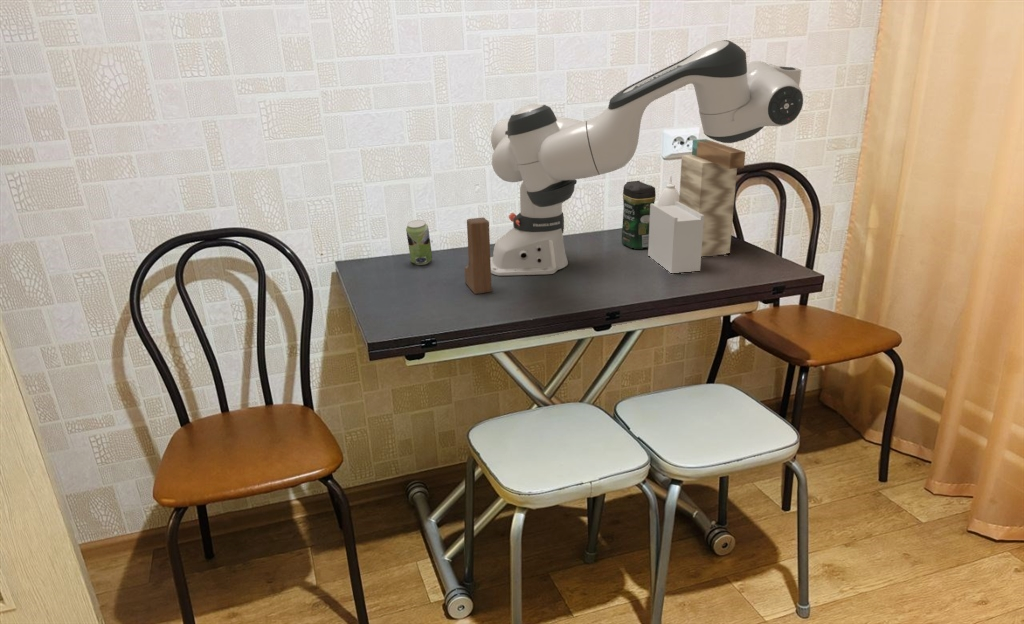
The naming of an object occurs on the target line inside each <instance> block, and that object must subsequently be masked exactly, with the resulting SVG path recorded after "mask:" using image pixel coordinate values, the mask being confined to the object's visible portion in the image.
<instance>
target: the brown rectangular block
mask: <svg viewBox="0 0 1024 624" xmlns="http://www.w3.org/2000/svg"><path fill="white" fill-rule="evenodd" d="M691 149H692V150H691V155H695V156H697V157H700V158H702V159H705V160H708V161H710V162H713V163H715V164H718V165H721V166H723V167H726V168H728V169H735V168H737V169H744V168H745V162H746V151H743V150H741V149H737V148H735V147H732V146H728V145H725V144H724V143H721V142H718V141H714V140H711V139H707V138H703V139H701V138H700V139H692V148H691Z"/></svg>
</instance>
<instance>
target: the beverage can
mask: <svg viewBox="0 0 1024 624" xmlns="http://www.w3.org/2000/svg"><path fill="white" fill-rule="evenodd" d="M405 231H406V239H407V243H408V250H409V251H408V252H409V258H410V261H411V263H413V264H414V265H417V266H425V265H426V264H429V263H430V262H432V260H433V253H432V244H431V236H430V230H429V225H428V224H427V223H426V221H425V220H422V219H414V220H411V221H410V222H408V223H407V226H406V228H405Z"/></svg>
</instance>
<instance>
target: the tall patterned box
mask: <svg viewBox="0 0 1024 624" xmlns="http://www.w3.org/2000/svg"><path fill="white" fill-rule="evenodd" d="M680 162H681V164H680V177H679V178H680V182H679V202H680V203H682V204H684V205H685V206H687V207H689V208H691V209H693V210H695V211H697V212H699V213H700V214H702V215H704V224H703V238H702V252H701V256H708V255H716V254H726V253H730V254H731V242H732V230H733V229H732V228H733V220H734V219H733V218H734V217H733V216H734V207H735V206H734V205H735V198H736V197H735V196H736V184H737V172H738V168H735V169H728V168H726V167H723V166H721V165H718V164H715V163H713V162H710V161H708V160H705V159H702V158H700V157H697V156H695V155H692V154H682V155H681V161H680Z"/></svg>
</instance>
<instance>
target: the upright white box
mask: <svg viewBox="0 0 1024 624" xmlns="http://www.w3.org/2000/svg"><path fill="white" fill-rule="evenodd" d="M703 224H704V215H702V214H700V213H699V212H697V211H695V210H693V209H691V208H689V207H687V206H685V205H684V204H682V203H680V202H675V205H673V206H660V207H658V206H657V204H655V203H654V204H653V203H652V204H650V224H649V246H648V248H647V250H648V251H647V257H648V256H650V257H651V258H652V259H654V260H655V261H656V262H657V263H659V264H660V265H661V266H663V267H664V268H665V269H666V270H668V271H669V272H670V273H679V272H691V271H700V272H701V264H702V258H701V252H702V238H703ZM651 258H650V259H651ZM652 259H651V260H652ZM656 262H655V263H656ZM657 263H656V264H657ZM660 265H659V266H660ZM661 266H660V267H661ZM664 268H663V269H664ZM665 269H664V270H665ZM666 270H665V271H666ZM669 272H668V273H669ZM670 273H669V274H670Z"/></svg>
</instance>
